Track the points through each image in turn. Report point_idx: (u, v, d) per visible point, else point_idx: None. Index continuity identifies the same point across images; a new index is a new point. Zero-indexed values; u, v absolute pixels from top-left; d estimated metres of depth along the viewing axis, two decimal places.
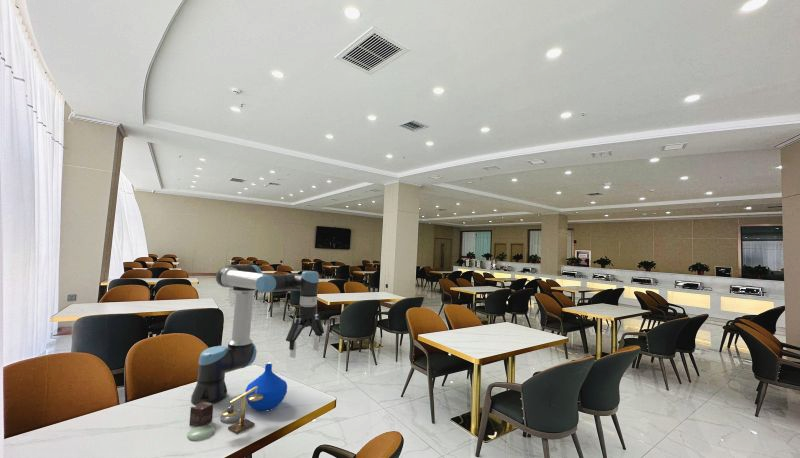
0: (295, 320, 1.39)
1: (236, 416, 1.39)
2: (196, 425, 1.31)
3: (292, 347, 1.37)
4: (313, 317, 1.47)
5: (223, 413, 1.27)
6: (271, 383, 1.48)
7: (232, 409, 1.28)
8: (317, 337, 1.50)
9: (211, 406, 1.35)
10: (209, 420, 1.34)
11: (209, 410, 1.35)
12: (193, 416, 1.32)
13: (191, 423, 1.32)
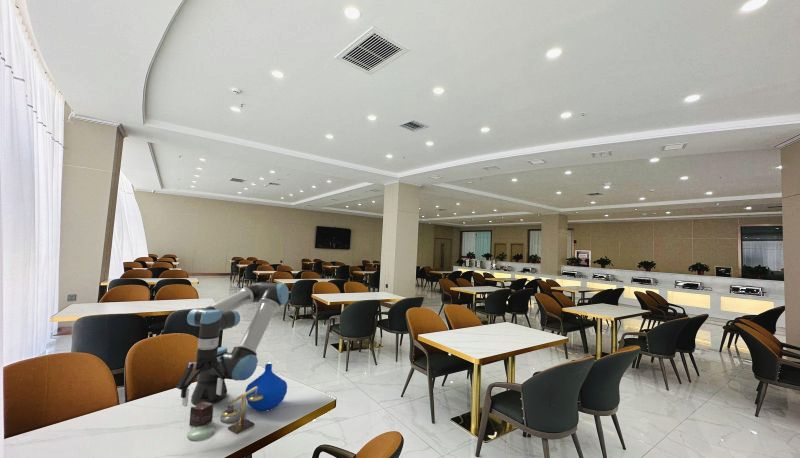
0: (189, 365, 1.30)
1: (236, 416, 1.39)
2: (196, 425, 1.31)
3: (184, 395, 1.28)
4: (214, 360, 1.38)
5: (223, 413, 1.27)
6: (271, 383, 1.48)
7: (232, 409, 1.28)
8: (220, 380, 1.40)
9: (211, 406, 1.35)
10: (209, 420, 1.34)
11: (209, 410, 1.35)
12: (193, 416, 1.32)
13: (191, 423, 1.32)
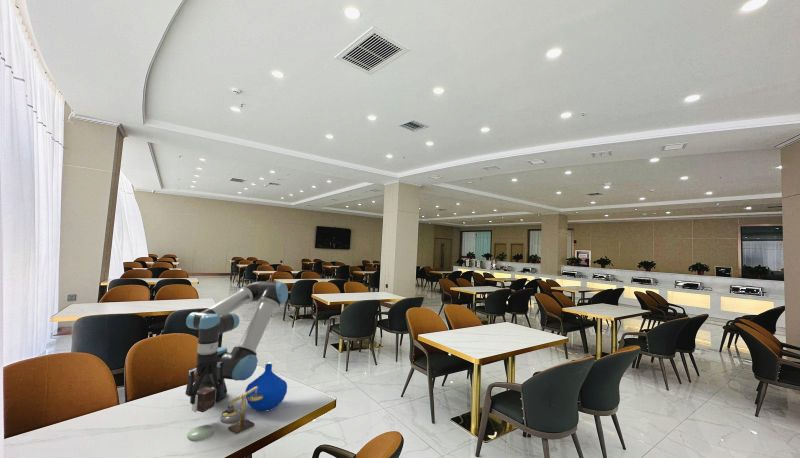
0: (189, 373, 1.30)
1: (236, 416, 1.39)
2: (199, 410, 1.32)
3: (193, 401, 1.31)
4: (214, 363, 1.38)
5: (223, 413, 1.27)
6: (271, 383, 1.48)
7: (232, 409, 1.28)
8: None
9: (213, 391, 1.36)
10: (211, 405, 1.36)
11: (212, 395, 1.36)
12: None
13: None
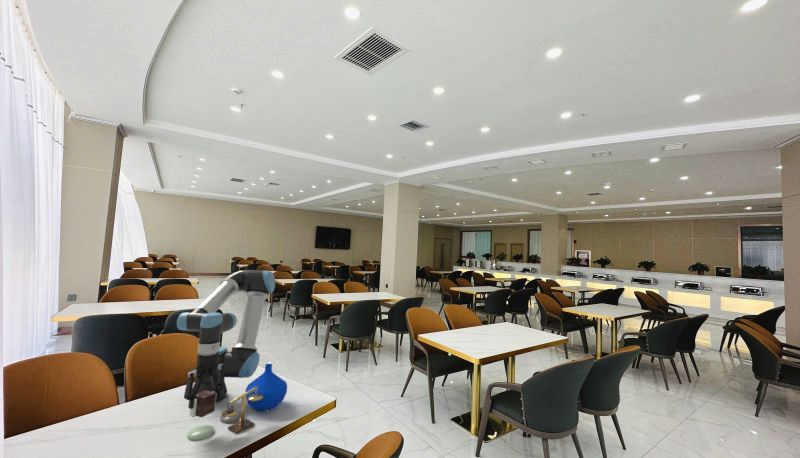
0: (189, 375, 1.23)
1: (236, 416, 1.39)
2: (197, 415, 1.24)
3: (191, 405, 1.23)
4: (215, 365, 1.30)
5: (223, 413, 1.27)
6: (271, 383, 1.48)
7: (232, 409, 1.28)
8: None
9: (213, 395, 1.28)
10: (211, 410, 1.27)
11: (212, 399, 1.28)
12: None
13: None
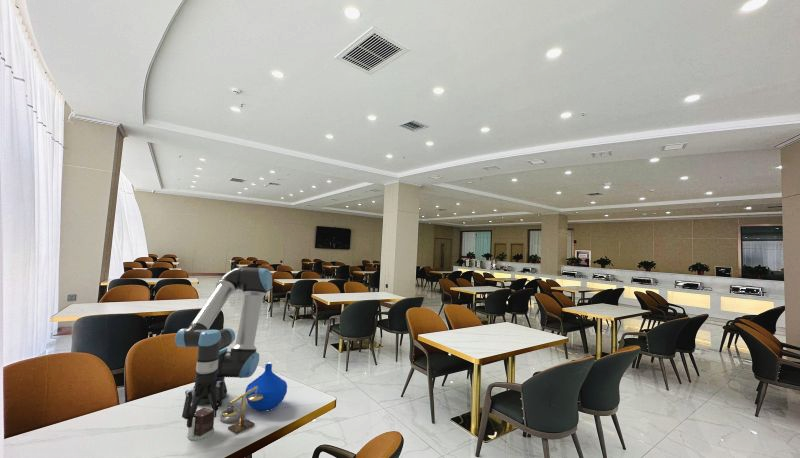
0: (187, 394, 1.22)
1: (236, 416, 1.39)
2: (196, 433, 1.23)
3: (190, 424, 1.23)
4: (214, 383, 1.30)
5: (223, 413, 1.27)
6: (271, 383, 1.48)
7: (232, 409, 1.28)
8: None
9: (212, 413, 1.28)
10: (209, 428, 1.27)
11: (210, 417, 1.27)
12: None
13: None
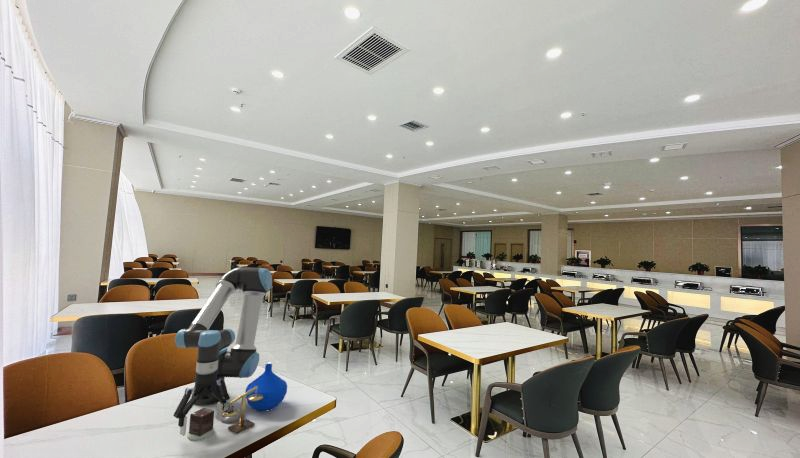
0: (186, 391, 1.22)
1: (236, 416, 1.39)
2: (196, 433, 1.23)
3: (181, 423, 1.20)
4: (213, 384, 1.30)
5: (223, 413, 1.27)
6: (271, 383, 1.48)
7: (232, 409, 1.28)
8: (220, 405, 1.32)
9: (212, 413, 1.28)
10: (209, 428, 1.27)
11: (210, 417, 1.27)
12: (193, 424, 1.24)
13: (191, 431, 1.24)
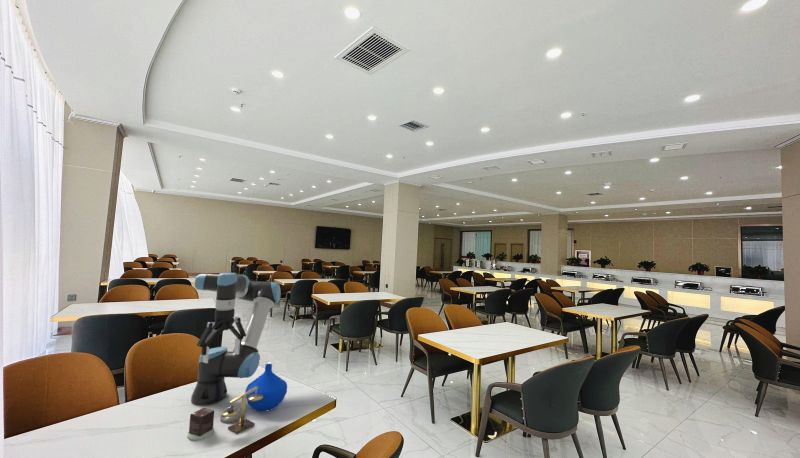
0: (208, 324, 1.34)
1: (236, 416, 1.39)
2: (196, 433, 1.23)
3: (204, 352, 1.33)
4: (231, 320, 1.42)
5: (223, 413, 1.27)
6: (271, 383, 1.48)
7: (232, 409, 1.28)
8: (237, 340, 1.45)
9: (212, 413, 1.28)
10: (209, 428, 1.27)
11: (210, 417, 1.27)
12: (193, 424, 1.24)
13: (191, 431, 1.24)
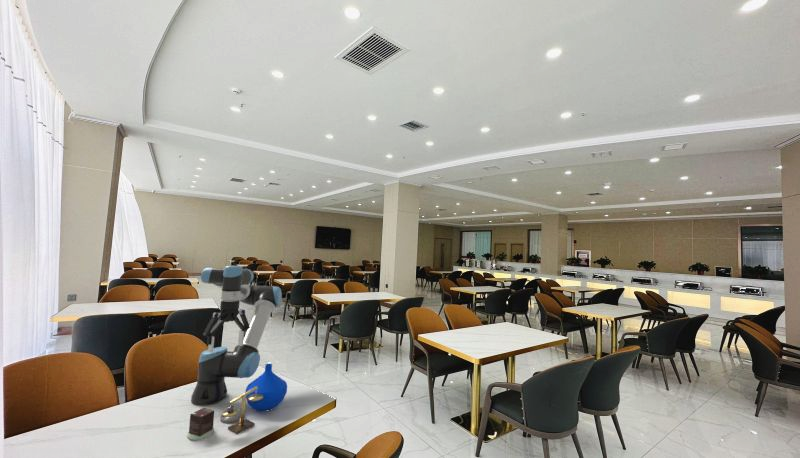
0: (214, 315, 1.39)
1: (236, 416, 1.39)
2: (196, 433, 1.23)
3: (209, 342, 1.37)
4: (236, 312, 1.46)
5: (223, 413, 1.27)
6: (271, 383, 1.48)
7: (232, 409, 1.28)
8: (241, 332, 1.49)
9: (212, 413, 1.28)
10: (209, 428, 1.27)
11: (210, 417, 1.27)
12: (193, 424, 1.24)
13: (191, 431, 1.24)
